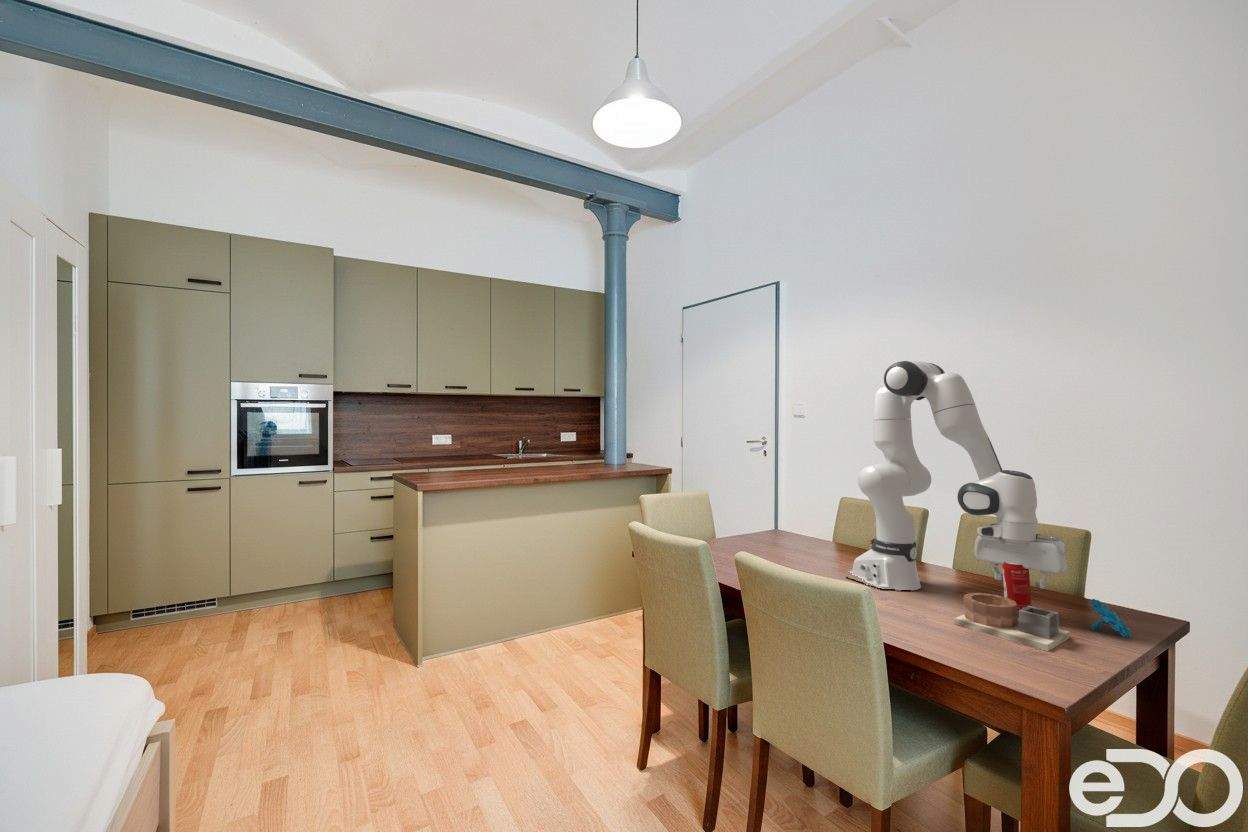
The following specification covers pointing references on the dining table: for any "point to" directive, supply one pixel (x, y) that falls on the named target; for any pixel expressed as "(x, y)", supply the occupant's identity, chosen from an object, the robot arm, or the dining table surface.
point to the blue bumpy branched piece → (1109, 619)
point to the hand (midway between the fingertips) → (1019, 583)
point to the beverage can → (1017, 584)
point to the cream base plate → (1011, 621)
